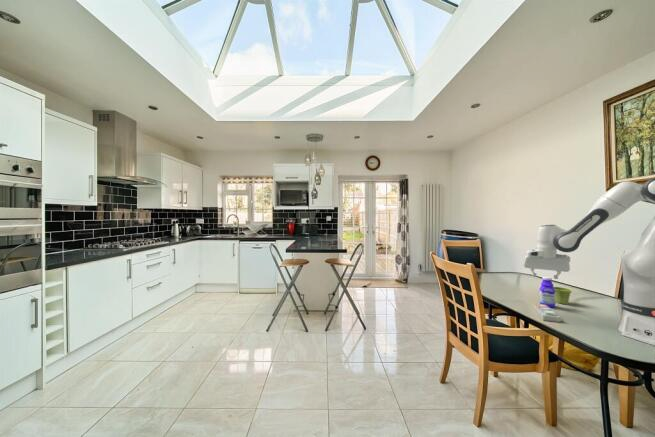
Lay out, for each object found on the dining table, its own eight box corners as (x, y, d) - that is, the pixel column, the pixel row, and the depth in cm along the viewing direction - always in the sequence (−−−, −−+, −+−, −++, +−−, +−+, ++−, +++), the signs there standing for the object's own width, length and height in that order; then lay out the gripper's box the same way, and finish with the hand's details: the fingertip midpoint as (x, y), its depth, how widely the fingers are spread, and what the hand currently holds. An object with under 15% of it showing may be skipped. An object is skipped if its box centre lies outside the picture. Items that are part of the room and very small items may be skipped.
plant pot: (563, 300, 166) (563, 286, 166) (576, 305, 157) (576, 291, 156) (547, 300, 167) (547, 286, 167) (559, 305, 158) (559, 291, 157)
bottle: (540, 306, 155) (540, 277, 155) (538, 303, 160) (538, 275, 160) (556, 308, 152) (556, 279, 152) (553, 305, 157) (553, 276, 157)
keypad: (533, 309, 151) (533, 304, 151) (548, 311, 148) (548, 306, 148) (543, 320, 136) (543, 315, 136) (560, 322, 133) (560, 317, 133)
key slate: (540, 309, 145) (540, 306, 145) (549, 310, 143) (549, 307, 143) (542, 312, 141) (542, 309, 141) (551, 313, 140) (551, 310, 140)
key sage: (543, 312, 140) (543, 309, 140) (552, 314, 139) (552, 310, 139) (546, 315, 137) (546, 312, 137) (555, 316, 135) (555, 313, 135)
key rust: (537, 306, 149) (537, 303, 149) (545, 307, 148) (545, 304, 148) (539, 309, 146) (539, 306, 146) (548, 310, 144) (548, 307, 144)
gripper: (568, 254, 145) (567, 278, 145) (523, 250, 154) (522, 273, 155) (572, 256, 139) (571, 281, 140) (525, 252, 149) (524, 276, 149)
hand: (544, 277), depth 147 cm, fingers open, 8 cm apart
